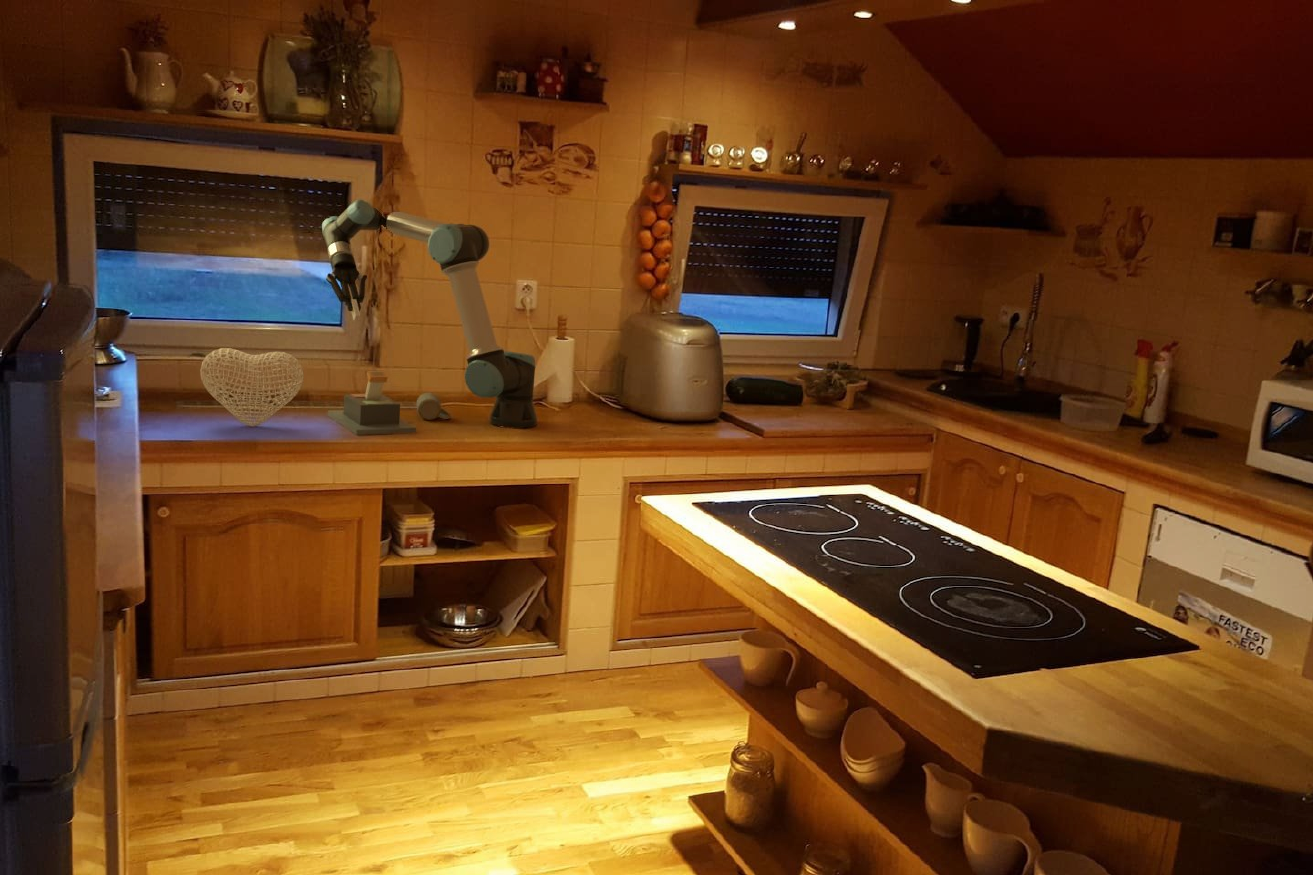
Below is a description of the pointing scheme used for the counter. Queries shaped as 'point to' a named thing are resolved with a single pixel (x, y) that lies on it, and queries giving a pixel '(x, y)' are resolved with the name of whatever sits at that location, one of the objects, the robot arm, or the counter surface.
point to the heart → (248, 356)
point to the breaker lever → (375, 384)
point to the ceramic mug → (430, 407)
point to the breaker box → (371, 416)
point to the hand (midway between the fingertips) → (357, 318)
